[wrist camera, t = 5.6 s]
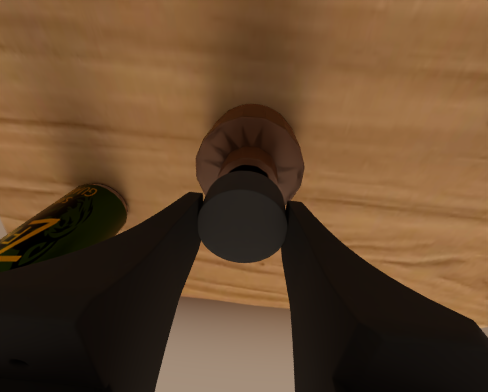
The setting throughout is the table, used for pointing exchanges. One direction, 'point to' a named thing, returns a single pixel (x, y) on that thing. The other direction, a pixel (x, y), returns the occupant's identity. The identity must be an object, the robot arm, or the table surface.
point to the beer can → (65, 227)
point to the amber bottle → (251, 149)
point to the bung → (243, 217)
